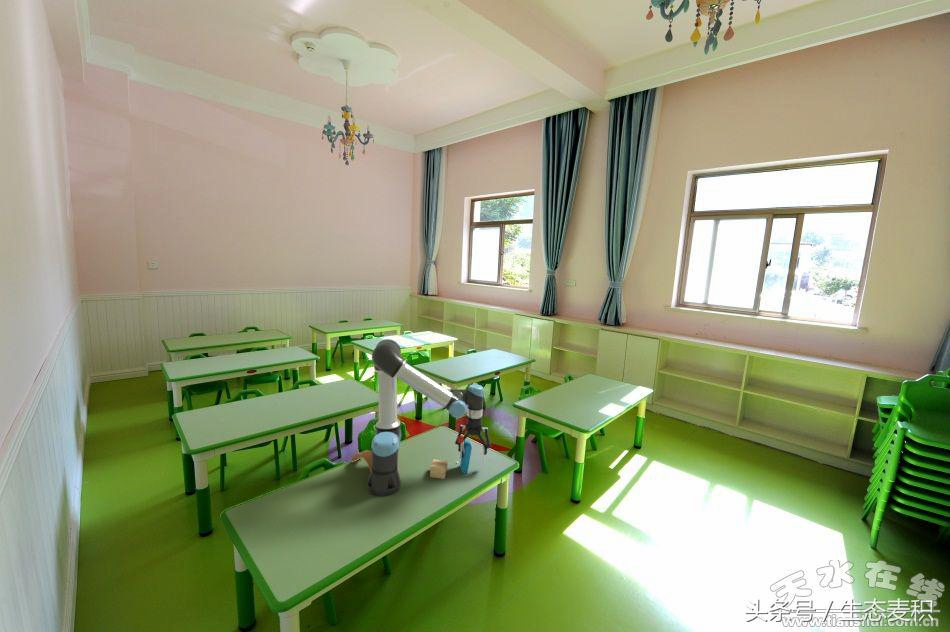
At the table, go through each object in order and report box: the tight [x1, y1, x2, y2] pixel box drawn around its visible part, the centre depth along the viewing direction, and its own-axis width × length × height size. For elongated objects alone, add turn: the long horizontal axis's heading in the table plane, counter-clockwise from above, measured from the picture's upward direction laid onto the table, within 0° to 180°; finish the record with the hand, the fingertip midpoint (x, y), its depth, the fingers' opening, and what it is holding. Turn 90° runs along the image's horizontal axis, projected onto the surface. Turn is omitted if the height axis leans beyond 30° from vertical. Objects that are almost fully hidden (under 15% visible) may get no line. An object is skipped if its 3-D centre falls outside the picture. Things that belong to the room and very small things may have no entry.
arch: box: [350, 450, 372, 473], centre depth 188 cm, size 6×20×10 cm, turn 47°
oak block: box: [429, 459, 449, 480], centre depth 188 cm, size 7×7×7 cm
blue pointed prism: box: [456, 435, 473, 474], centre depth 191 cm, size 7×7×18 cm
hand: (472, 458), depth 193 cm, fingers open, 10 cm apart
